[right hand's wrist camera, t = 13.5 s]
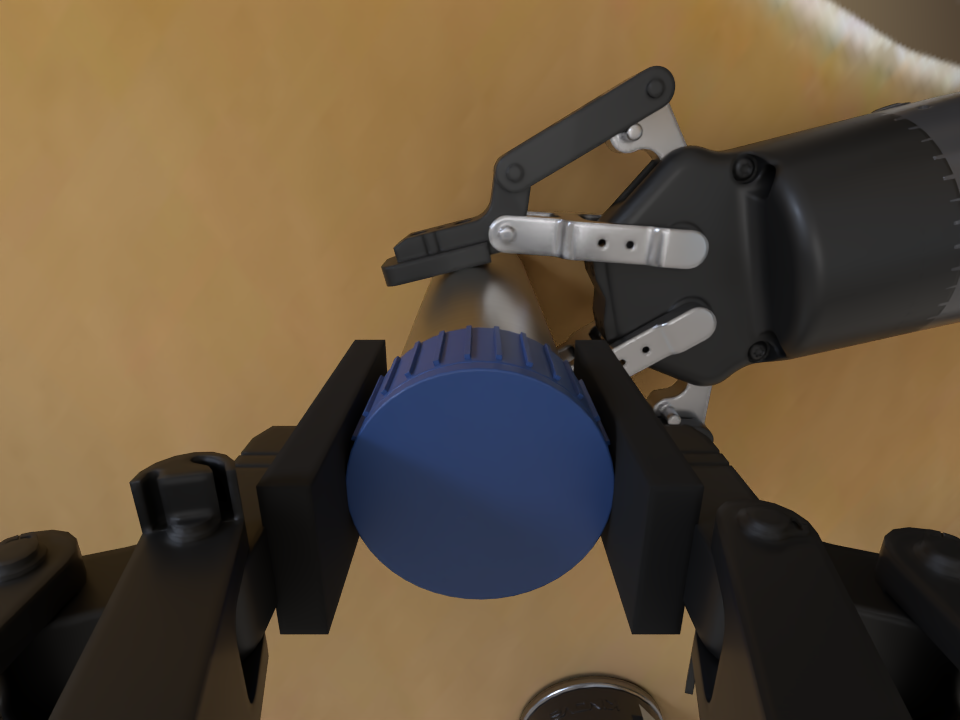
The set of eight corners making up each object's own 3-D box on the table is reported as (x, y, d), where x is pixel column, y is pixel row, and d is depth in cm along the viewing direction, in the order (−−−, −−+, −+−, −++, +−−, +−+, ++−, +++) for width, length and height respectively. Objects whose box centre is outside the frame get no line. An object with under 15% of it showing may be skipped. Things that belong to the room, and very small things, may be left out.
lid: (390, 297, 11) (367, 333, 9) (625, 355, 11) (660, 403, 9) (349, 501, 13) (321, 575, 10) (556, 544, 13) (571, 624, 11)
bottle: (532, 240, 25) (615, 377, 10) (521, 332, 27) (579, 578, 11) (435, 232, 25) (363, 358, 10) (431, 325, 27) (362, 565, 11)
